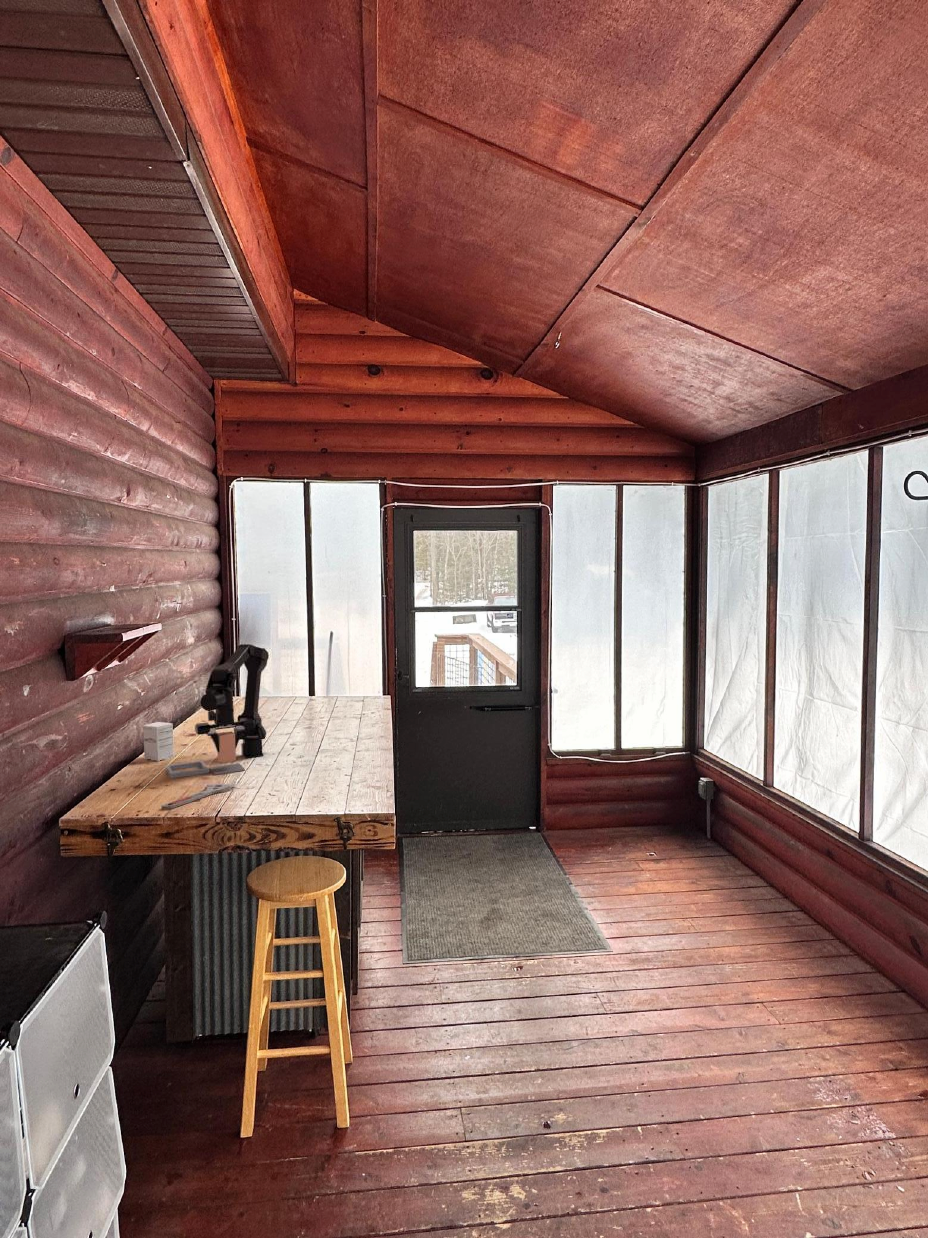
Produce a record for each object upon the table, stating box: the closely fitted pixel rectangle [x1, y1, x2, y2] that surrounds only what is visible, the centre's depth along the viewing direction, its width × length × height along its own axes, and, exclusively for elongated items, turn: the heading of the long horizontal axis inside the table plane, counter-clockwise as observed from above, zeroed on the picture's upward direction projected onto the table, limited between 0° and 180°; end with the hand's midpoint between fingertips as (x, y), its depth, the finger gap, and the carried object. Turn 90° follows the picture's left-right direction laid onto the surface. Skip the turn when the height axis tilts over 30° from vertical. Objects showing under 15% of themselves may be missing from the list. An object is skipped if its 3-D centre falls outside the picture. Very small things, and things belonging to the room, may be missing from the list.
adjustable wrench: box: [161, 780, 237, 810], centre depth 218 cm, size 8×26×2 cm, turn 146°
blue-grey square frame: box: [166, 760, 209, 779], centre depth 246 cm, size 12×12×2 cm
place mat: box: [208, 762, 246, 776], centre depth 247 cm, size 10×10×1 cm
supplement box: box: [142, 721, 175, 762], centre depth 264 cm, size 7×7×13 cm
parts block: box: [216, 731, 237, 763], centre depth 247 cm, size 5×5×9 cm
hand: (226, 751), depth 247 cm, fingers closed on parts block, 5 cm apart
